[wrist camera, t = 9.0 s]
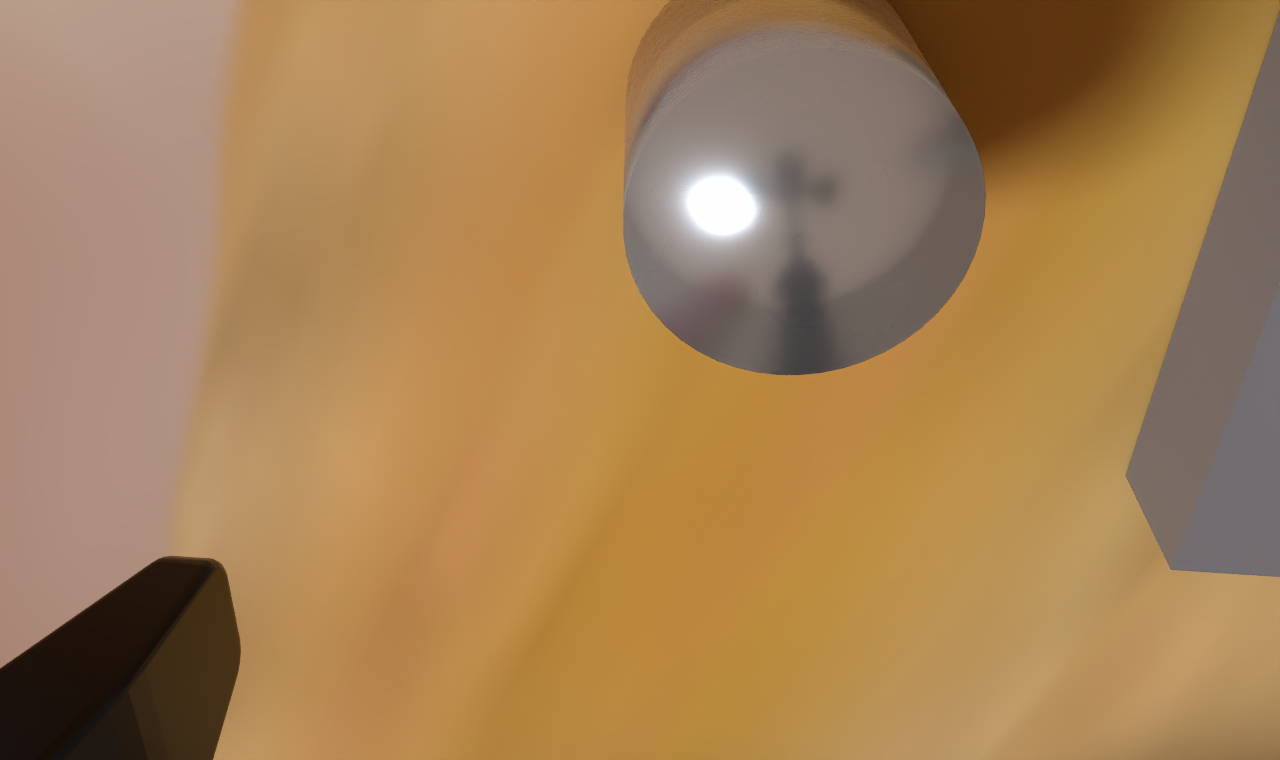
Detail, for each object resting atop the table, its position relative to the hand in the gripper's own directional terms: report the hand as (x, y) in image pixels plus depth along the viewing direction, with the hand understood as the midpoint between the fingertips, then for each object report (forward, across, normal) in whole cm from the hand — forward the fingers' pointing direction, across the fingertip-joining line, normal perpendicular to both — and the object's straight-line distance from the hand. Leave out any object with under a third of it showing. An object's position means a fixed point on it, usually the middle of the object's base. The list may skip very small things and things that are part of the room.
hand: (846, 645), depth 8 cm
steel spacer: (+11, 0, 0) cm, 11 cm away
